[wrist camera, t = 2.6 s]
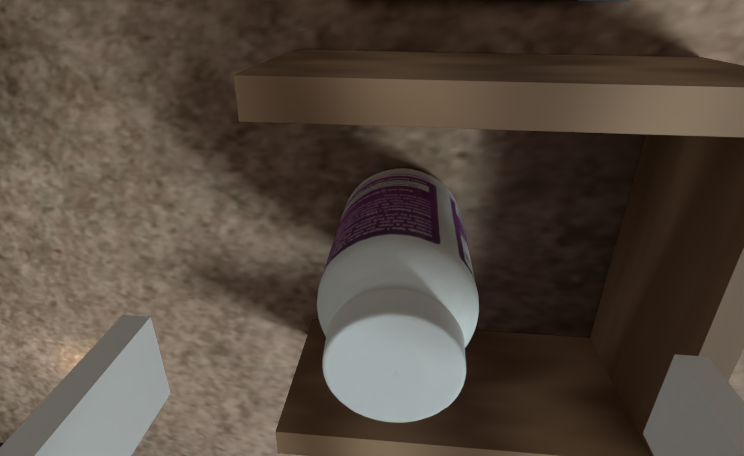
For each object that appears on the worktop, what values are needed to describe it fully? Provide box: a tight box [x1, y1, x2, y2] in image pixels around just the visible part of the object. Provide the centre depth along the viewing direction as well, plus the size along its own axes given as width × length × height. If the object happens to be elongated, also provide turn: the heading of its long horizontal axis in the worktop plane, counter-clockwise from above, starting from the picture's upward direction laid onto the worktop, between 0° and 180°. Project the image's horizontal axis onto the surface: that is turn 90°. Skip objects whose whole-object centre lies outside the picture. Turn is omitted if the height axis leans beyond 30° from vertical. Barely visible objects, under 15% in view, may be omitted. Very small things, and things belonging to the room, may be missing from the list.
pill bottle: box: [317, 168, 479, 422], centre depth 17 cm, size 5×5×10 cm
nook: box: [233, 50, 744, 456], centre depth 18 cm, size 15×14×7 cm
